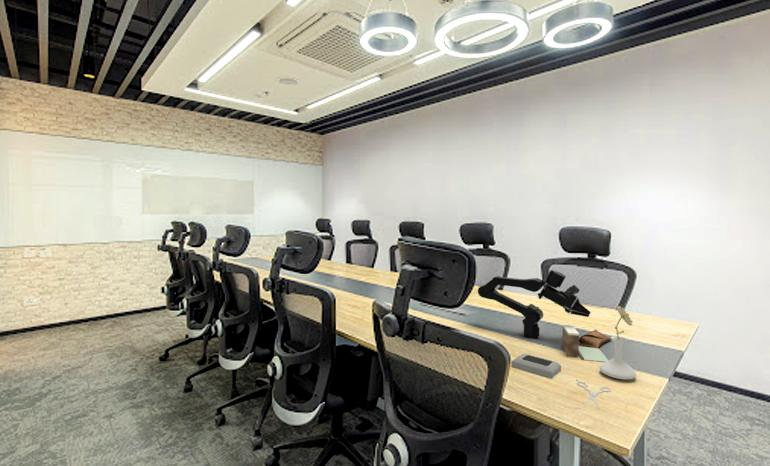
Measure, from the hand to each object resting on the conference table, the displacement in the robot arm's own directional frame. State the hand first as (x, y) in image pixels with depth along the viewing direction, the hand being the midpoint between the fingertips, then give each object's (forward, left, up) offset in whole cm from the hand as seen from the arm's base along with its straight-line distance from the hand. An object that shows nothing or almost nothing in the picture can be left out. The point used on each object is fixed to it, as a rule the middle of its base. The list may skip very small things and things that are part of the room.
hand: (589, 314), depth 162 cm
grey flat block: (-25, -32, -15) cm, 43 cm away
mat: (-1, -9, -15) cm, 17 cm away
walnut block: (-9, -9, -15) cm, 19 cm away
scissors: (-10, -49, -15) cm, 52 cm away
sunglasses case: (+5, +8, -15) cm, 18 cm away
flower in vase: (+3, -29, -15) cm, 32 cm away
